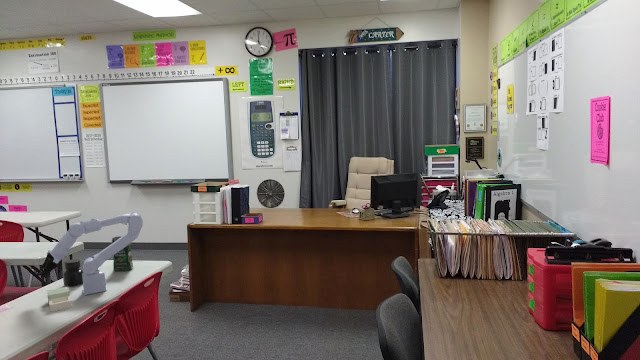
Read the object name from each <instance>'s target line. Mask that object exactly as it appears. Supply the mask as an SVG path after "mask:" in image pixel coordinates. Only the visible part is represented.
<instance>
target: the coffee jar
mask: <svg viewBox="0 0 640 360" xmlns="http://www.w3.org/2000/svg"><path fill="white" fill-rule="evenodd" d="M122 236H123V235H122ZM122 236H114V237H112V239H111V244H112V243H114V242H115V241H116V240H118V239H119V238H121V237H122ZM131 247H132V242H131V243H130V244H128V245H127V246H125V247H124V248H123V249H121V250H120V251H119V252H117V253H116V254H114V255H113V265H112V266H113V271H115V272H126V271H125V270H127V271H129V269H130V270H132V269H133V268H134V264H133V257H132V249H131ZM131 268H132V269H131Z"/></svg>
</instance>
